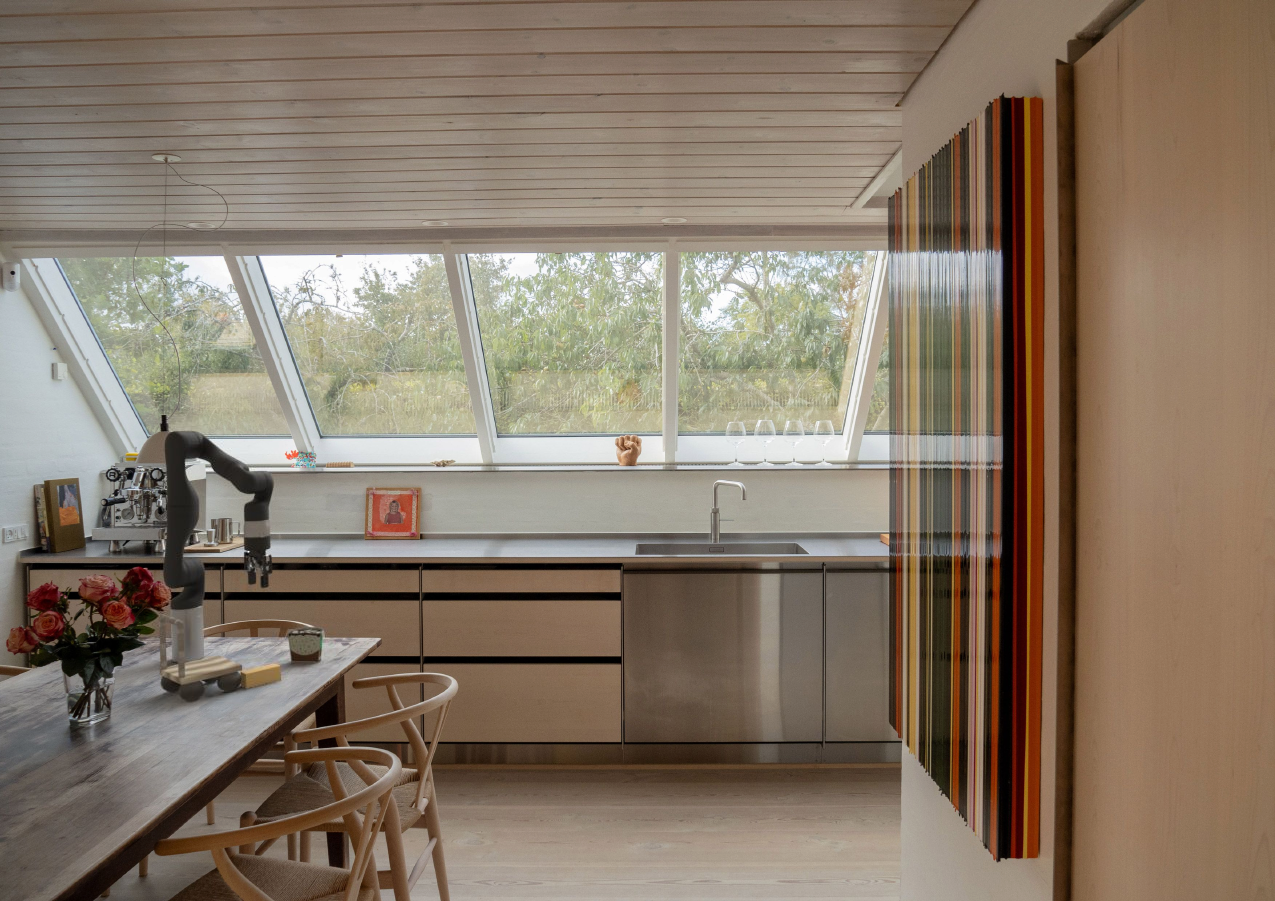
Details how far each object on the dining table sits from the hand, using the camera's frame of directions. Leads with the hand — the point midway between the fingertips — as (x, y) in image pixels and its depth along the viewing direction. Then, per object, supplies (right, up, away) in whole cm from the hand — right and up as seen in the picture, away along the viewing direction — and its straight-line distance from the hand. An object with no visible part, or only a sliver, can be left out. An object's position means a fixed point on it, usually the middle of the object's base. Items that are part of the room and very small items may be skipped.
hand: (258, 585), depth 243 cm
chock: (+8, -26, -15) cm, 31 cm away
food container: (+12, -26, +9) cm, 30 cm away
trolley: (-6, -27, -21) cm, 35 cm away
